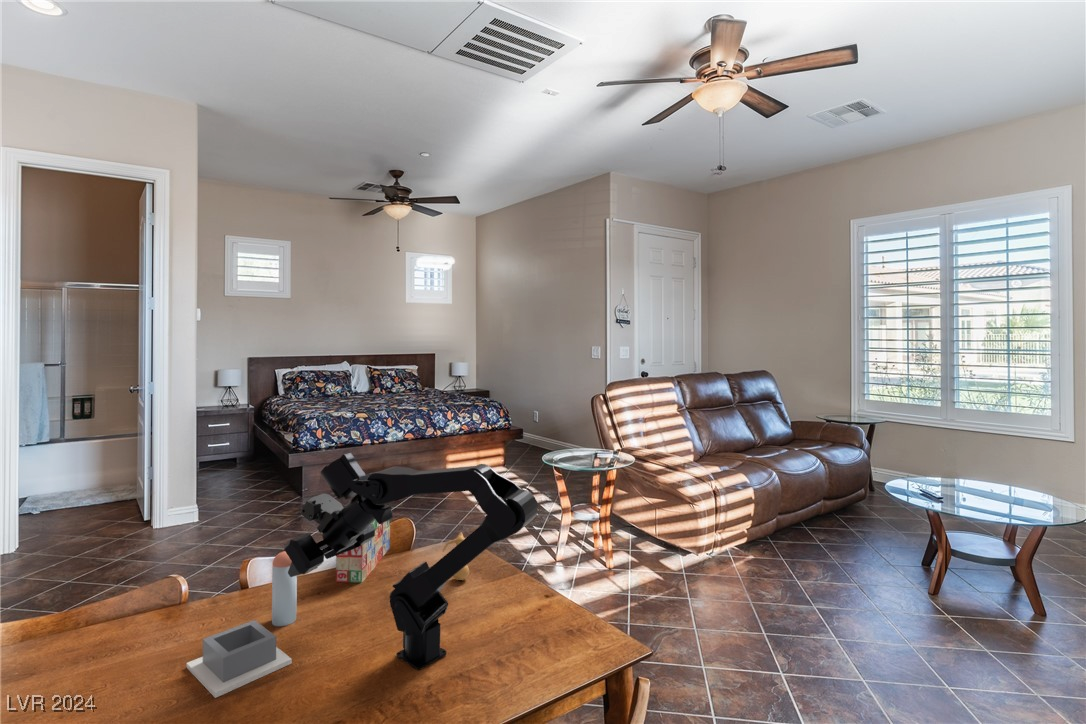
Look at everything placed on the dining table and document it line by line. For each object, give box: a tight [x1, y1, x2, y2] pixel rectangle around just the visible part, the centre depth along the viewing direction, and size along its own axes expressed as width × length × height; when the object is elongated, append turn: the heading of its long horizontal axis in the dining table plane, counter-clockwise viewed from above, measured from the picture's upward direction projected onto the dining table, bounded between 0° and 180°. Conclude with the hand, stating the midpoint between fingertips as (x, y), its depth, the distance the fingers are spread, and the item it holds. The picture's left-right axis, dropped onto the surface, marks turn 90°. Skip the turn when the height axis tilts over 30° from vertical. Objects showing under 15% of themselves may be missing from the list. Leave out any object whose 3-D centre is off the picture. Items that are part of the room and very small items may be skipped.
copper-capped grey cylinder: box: [271, 550, 298, 627], centre depth 107 cm, size 4×4×14 cm
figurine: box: [442, 532, 470, 581], centre depth 126 cm, size 8×6×12 cm
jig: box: [186, 619, 293, 699], centre depth 92 cm, size 12×12×5 cm
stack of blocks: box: [335, 519, 391, 584], centre depth 135 cm, size 21×6×12 cm, turn 179°
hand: (308, 565), depth 105 cm, fingers open, 9 cm apart
